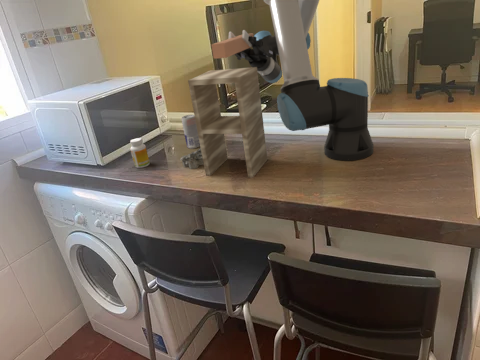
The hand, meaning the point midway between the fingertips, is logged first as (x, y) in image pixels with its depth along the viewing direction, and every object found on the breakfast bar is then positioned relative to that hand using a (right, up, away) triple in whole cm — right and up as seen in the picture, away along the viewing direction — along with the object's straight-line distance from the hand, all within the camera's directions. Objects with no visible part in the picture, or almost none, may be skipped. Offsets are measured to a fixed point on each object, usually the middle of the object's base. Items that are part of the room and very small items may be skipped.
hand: (236, 35), depth 120 cm
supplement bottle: (-34, -40, +18) cm, 56 cm away
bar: (0, -5, 0) cm, 5 cm away
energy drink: (-17, -33, +29) cm, 47 cm away
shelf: (0, -42, +4) cm, 42 cm away
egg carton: (-13, -40, +13) cm, 44 cm away
